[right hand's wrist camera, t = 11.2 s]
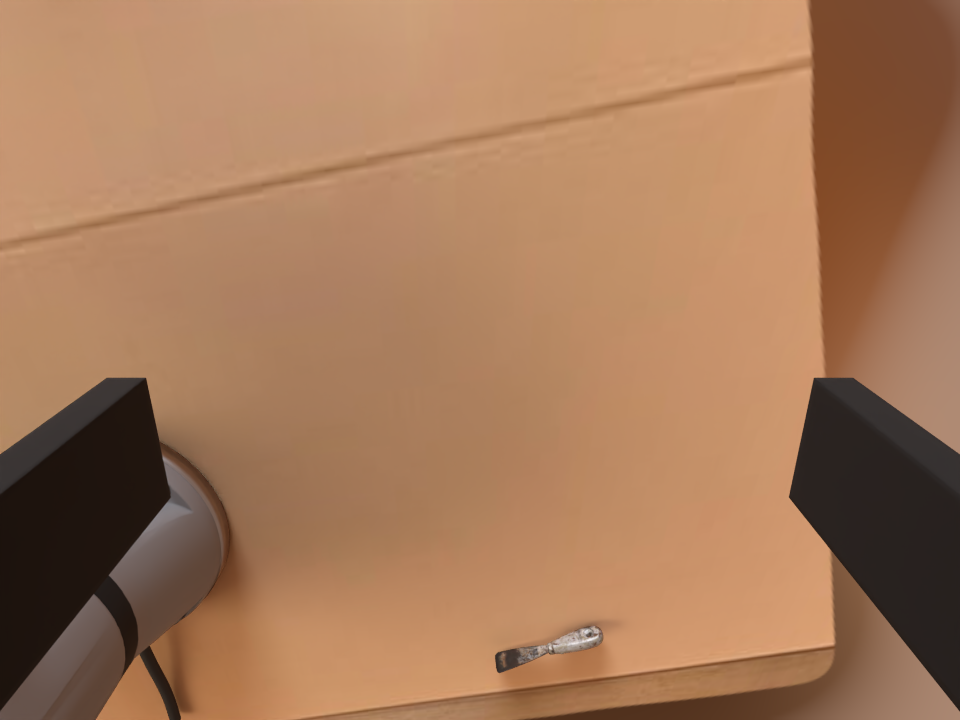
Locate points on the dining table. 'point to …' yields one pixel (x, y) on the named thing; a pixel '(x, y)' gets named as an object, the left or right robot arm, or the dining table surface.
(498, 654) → the putty knife
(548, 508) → the dining table surface
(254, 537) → the dining table surface
